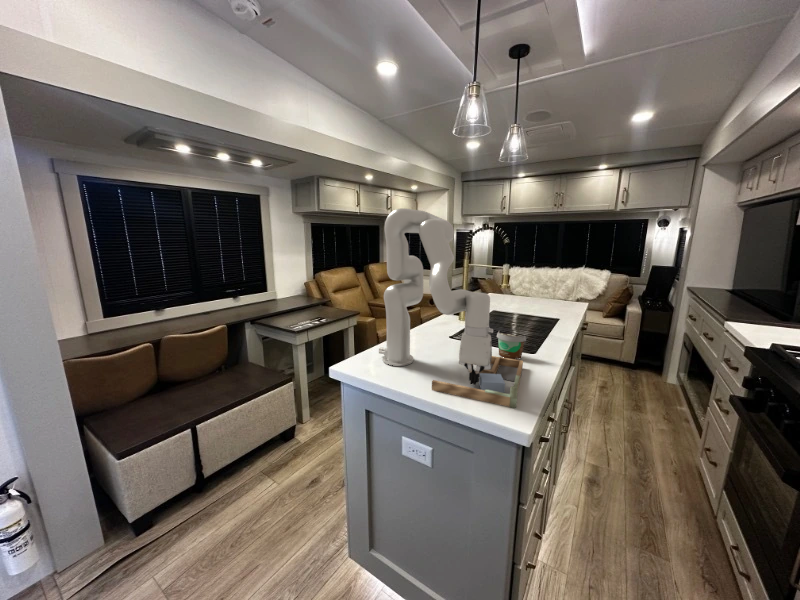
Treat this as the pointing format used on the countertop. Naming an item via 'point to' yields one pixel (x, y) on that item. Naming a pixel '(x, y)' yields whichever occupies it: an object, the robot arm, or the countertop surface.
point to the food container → (510, 345)
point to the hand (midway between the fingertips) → (473, 382)
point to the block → (491, 382)
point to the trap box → (508, 371)
